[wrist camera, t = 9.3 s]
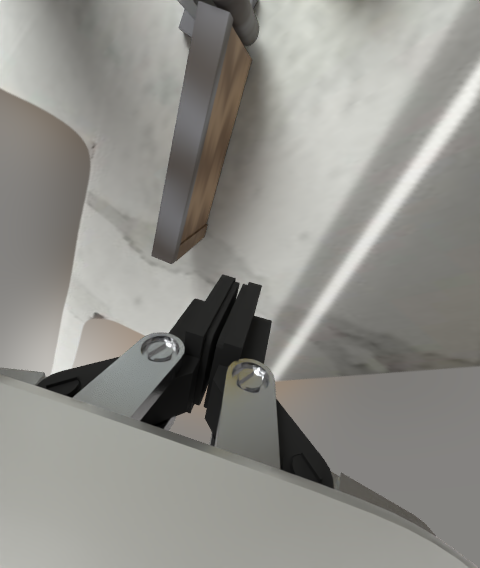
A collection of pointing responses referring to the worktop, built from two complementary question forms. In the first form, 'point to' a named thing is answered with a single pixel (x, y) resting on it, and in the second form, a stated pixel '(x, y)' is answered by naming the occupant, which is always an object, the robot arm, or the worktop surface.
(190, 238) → the gate
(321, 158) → the worktop surface
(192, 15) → the gate post
